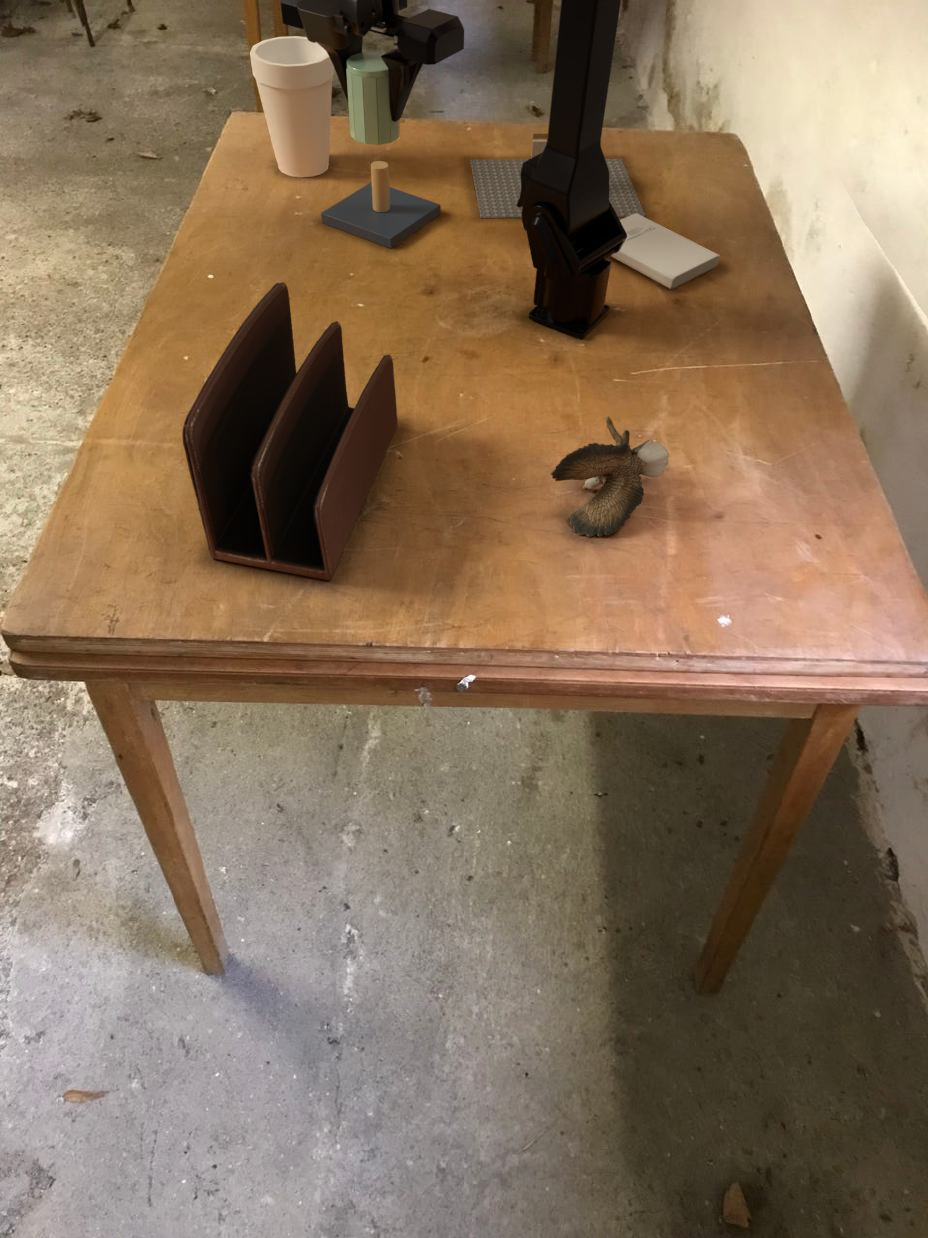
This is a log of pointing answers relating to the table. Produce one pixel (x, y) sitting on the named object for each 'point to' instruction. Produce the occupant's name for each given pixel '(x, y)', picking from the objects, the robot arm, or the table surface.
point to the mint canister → (370, 100)
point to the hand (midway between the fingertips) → (374, 113)
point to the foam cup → (295, 101)
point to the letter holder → (285, 445)
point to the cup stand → (381, 211)
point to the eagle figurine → (610, 480)
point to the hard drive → (663, 253)
